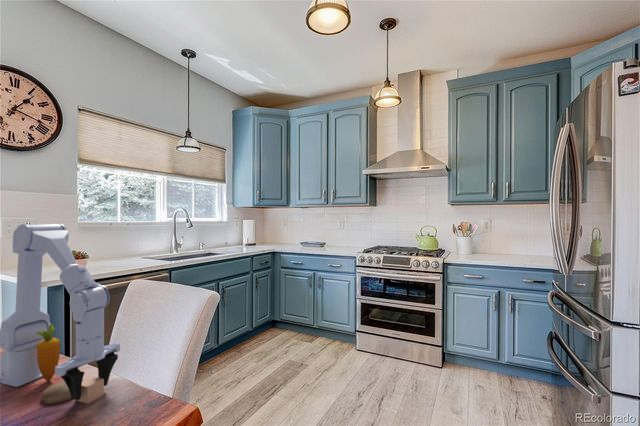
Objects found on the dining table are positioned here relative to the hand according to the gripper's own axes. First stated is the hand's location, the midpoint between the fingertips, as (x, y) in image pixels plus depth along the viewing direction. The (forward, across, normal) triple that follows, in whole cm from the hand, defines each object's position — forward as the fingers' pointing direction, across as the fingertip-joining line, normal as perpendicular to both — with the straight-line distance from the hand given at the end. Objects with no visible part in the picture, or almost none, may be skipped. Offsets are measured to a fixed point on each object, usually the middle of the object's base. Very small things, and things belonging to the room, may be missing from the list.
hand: (90, 391), depth 78 cm
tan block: (+2, 0, 0) cm, 2 cm away
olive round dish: (+2, -1, +8) cm, 8 cm away
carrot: (+2, +2, +19) cm, 19 cm away
